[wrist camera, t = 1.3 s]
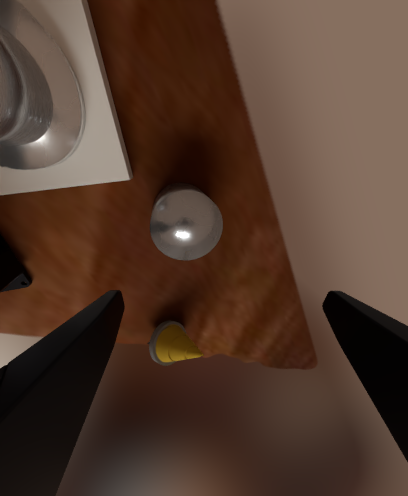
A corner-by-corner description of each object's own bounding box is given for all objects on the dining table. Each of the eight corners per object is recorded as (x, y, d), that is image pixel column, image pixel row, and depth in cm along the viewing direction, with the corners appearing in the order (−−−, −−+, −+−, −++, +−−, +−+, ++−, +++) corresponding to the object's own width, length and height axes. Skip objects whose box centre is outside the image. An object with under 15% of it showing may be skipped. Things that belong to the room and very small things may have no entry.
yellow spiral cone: (139, 321, 26) (184, 335, 19) (171, 315, 29) (218, 325, 22) (138, 362, 25) (184, 393, 18) (171, 351, 28) (219, 373, 21)
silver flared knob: (159, 242, 20) (158, 265, 16) (146, 186, 18) (141, 197, 13) (211, 233, 21) (224, 253, 17) (207, 179, 18) (220, 186, 14)
